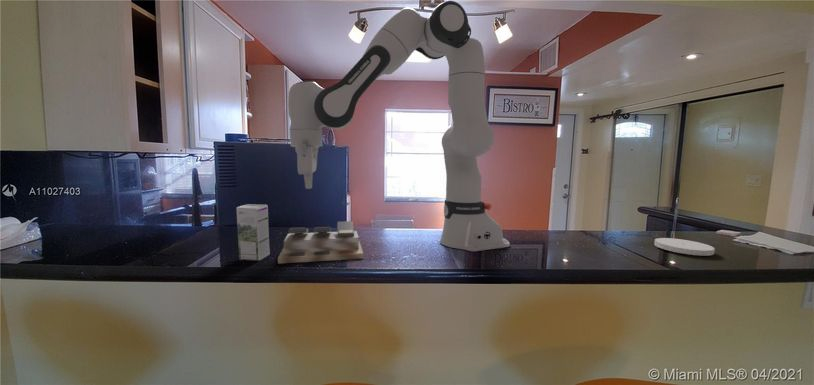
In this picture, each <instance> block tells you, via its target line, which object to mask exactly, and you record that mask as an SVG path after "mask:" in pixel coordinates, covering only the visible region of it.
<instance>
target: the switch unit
mask: <svg viewBox="0 0 814 385" xmlns="http://www.w3.org/2000/svg"><path fill="white" fill-rule="evenodd" d="M361 244H362V243H361V241H360V240H359V235H358V231H357V230H354V236H351V237H338V231H328V232H309V233H287V235H286V236H285V238H284V240H283V248H282V250H281V251H280V254H279V256H277V264H293V263H295V264H297V263H309V262H325V261H326V262H327V261H328V262H329V261H342V260H343V261H345V260H346V261H347V260H358V259H359V260H360V259H364V251H363V248H362V245H361Z"/></svg>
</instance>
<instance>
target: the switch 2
mask: <svg viewBox="0 0 814 385" xmlns="http://www.w3.org/2000/svg"><path fill="white" fill-rule="evenodd" d="M336 227H337V232H338V237H351V236H354V231H355V230H354V229H355V228H354V221H353V220H352V221H351V220H350V221H348V220H347V221H345V220H344V221H337V226H336Z"/></svg>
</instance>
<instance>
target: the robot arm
mask: <svg viewBox="0 0 814 385" xmlns="http://www.w3.org/2000/svg"><path fill="white" fill-rule="evenodd" d="M432 10H433V11H432V12H431V14H430V15H429V16H428V17H424V16H422V15H421V14H420V13H419V12H418V11H416V10H415V9H414V8H411V7H405V8H403V9H401V10H399V11H398V12H397V13H395V14H394V15H393V16H391V18H389V20H388V21H386V22H385V24H383V26H382V27H381V28H380V29H379V30H378V32H376V33H375V35H374V37H373V38H372V40H371V41H370V42H369V44H368V46H367V48H366V50H365V51H364V53H363V55H362V57H361V58H360V59H359V60H358V61H357V62H356V63H355V64H354V65H353V67H352V68H350V70H349V71H348V72H347V74H346V75H344V76H343V78H342V79H340V80H339V81H338V82H336V83H334V84H333V85H330V86H328V87H325V88H324V87H322V86H320V85H319V84H318V83H317V82H315V81H309V80H304V81H299V82H296V83H294V84H292V86H291V87H290V88H289V91H288V101H287V102H288V104H287V105H288V116H289V119H290V126H289V142H290V143H289V144H290V147H293V148H295V153H296V157H297V158H296V161H297V173H298V175H303V179H304V180H303V181H304V187H305V189H306V190H308V189H309V190H311V189H312V188H313V176H314V175H313V173H315V172H316V171H317V166H318V153H319V148H321V147H323V128H324V127H325V128H329V129H333V130H343V129H345V128H348V126H350V124H351V123H352V122H353V119H354V114H355V109H356V106H357V103H358V101H359V100H360V98H361V97H362V96H363V95H364V93H365V92H367V90H368V89H369V88H370V86H372V84H373V83H375V81H376V80H377V79H378V78H380V77H382V76H383V75H391V74H393V73H395V72H396V71H397V70H399V68H401V66H403V64H405V63H406V61H408V59H409V58H410V57H411V55H412V54H413V53H414V52H415V51H416V52H418V53H419V54H422V55H423V57H426V58H428V60H439V59H441V58H443V57H445V58H446V61H447V64H448V91H447V93H448V94H447V95H448V96H447V99H448V106H449V108H450V113H451V116H452V117H451V118H452V124H453V125H452V126H450V127H449V128H447V129H446V131H445V132H444V134H443V135H442V138H441V146H442V150H443V159H444V164H445V171H446V172H445V173H446V174H445V176H446V184H445V185H446V187H445V188H446V189H445V190H446V191H445V200H444V205H443V216H444V220H443V221H444V222H443V228H442V233H441V235H440V239H439V243H440V244H441V245H443V246H445V247H448V248H451V249H452V248H453V249H459V250H464V251H469V252H479V251H487V250H495V249H503V248H509V247H510V244H511V243H510V241H509V240H508V239H507V238H505V237H504V236H503V234H504V233H503V229H502V226H501V225H500V224H499V222H498V221H496V220H494V219H493V218H492V217H491V215H489V214H488V213H486V210H487V211H490V210H491V209H492V206H493V205H492V204H491V203H489V202H483V201H481V200H482V199H481V198H482V175H481V173H480V171H479V167H478V160H477V158H479V157H482V155H485V154H486V153H488V151H490V150H491V149H492V147H493V146H494V142H495V132H494V131H493V128H492V127H491V125H490V124H489V119H488V115H487V110H486V104H485V91H486V90H485V87H486V86H485V84H486V82H485V81H486V80H485V79H486V78H485V77H486V76H485V74H486V71H485V70H486V66H485V56H484V54H485V53H484V48H483V45H482V43H481V41H479V40H478V39H477V38H473V37H471V34H472V28H471V25H470V24H469V19H468V15H467V13H466V10H465V9H464V7H463V6H462V5H461V3H459V2H457V1H455V0H446V1H443V2H441V3H440V4H437V6H436V7H434V9H432Z"/></svg>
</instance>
